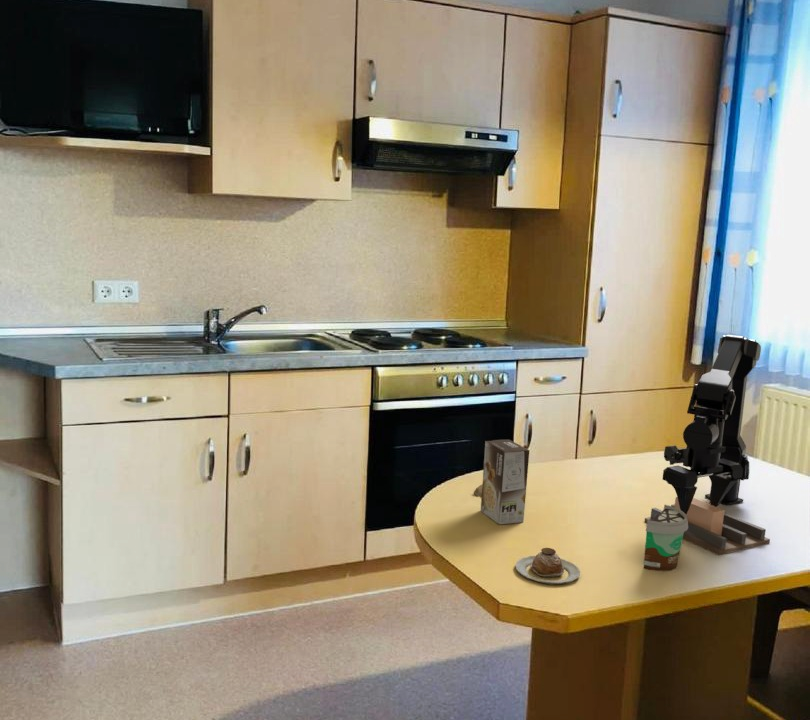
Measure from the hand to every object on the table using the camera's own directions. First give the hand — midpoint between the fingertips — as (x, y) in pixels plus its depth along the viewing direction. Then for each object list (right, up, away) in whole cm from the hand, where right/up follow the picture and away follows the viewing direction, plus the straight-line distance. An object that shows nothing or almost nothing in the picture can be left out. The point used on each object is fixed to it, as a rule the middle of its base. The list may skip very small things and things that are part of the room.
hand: (698, 511), depth 187 cm
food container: (-12, -8, -16) cm, 22 cm away
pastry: (-36, -8, -23) cm, 43 cm away
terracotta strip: (0, -4, +1) cm, 4 cm away
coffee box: (-41, -2, +5) cm, 42 cm away
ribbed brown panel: (+2, -5, +3) cm, 6 cm away
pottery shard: (-40, 0, +18) cm, 44 cm away
